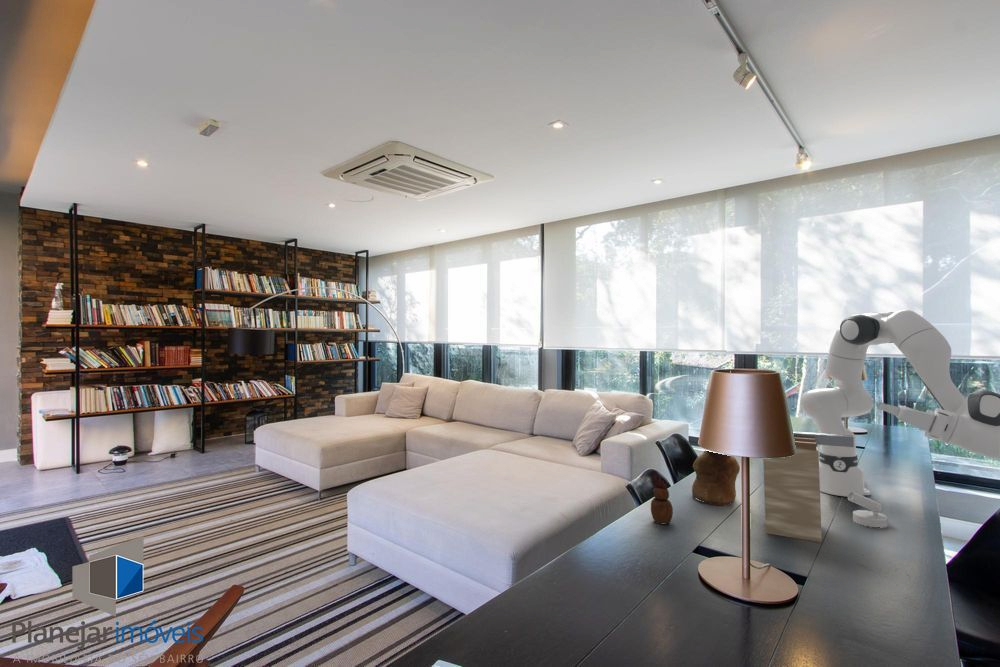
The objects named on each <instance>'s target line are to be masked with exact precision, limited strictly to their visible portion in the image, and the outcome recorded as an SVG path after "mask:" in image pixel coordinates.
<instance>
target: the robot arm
mask: <svg viewBox="0 0 1000 667" xmlns="http://www.w3.org/2000/svg"><path fill="white" fill-rule="evenodd" d="M892 343H893V344H894V345H895V346H896V348H897V349H898V350H899V351H900V352H901V353H902V354H903V355H904V357H905V358H906V359H907V361H908V362H909V363H910V365H911V366H912V368H913V369H914V370H915V372H916V374H917V375H918V378H919V379H920V381H921V382H922V384H923V385H924V386H925V388H926V389H927V391H928V392H929V394H930V395H931V396H932V397H933V399H934V400H935V402H936V403H937V405H938V406H939V407H940V408H939V407H936V408H935V409H934V410H931V409H926V411H922V410H918V409H914V408H911V407H908V406H904V405H902V404H901V405H900V404H899V405H898V406H896V405H893V404H888V403H885V402H879V403H878V406H877V407H878V409H879V410H881V411H883V412H886V413H888V414H891V415H893V416H895V417H896V418H897V419H898V421H901V422H903V423H905V424H908V425H910V426H913V427H915V428H917V429H918V430H919V431H923V432H924V437H926V438H929V439H932V440H935V441H939V442H941V443H943V444H947V445H953V446H956V447H959V448H961V449H963V450H965V451H967V452H970V453H974V454H977V455H979V456H984V457H987V458H991V459H996V460H1000V394H999V393H997V392H995V391H992V390H991V391H990V390H976V391H973V392H971V393H970V394H969V395H967V397H964V395H963V394H962V392H960V390H959V389H958V387H957V386H956V384H954V382H953V380H952V378H951V373H950V372H951V370H950V368H951V367H950V365H951V358H952V347H951V345H950V344H949V342H948V340H947V338H946V337H945V336H944V335H943V334H942V333H941V332H940V331H939V329H937V328H936V327H935V326H934V325H933V324H932V323H931V322H929V321H928V320H927V319H925V318H924V317H923V316H921V315H920V314H918V313H917V312H915V311H913V310H910V309H901V310H898V311H895V312H894V311H893V312H892V311H890V312H881V311H880V312H878V311H877V312H876V311H875V312H869V313H858V314H857V313H856V314H853V315H850V316H847V317H845V318H844V319H843V320H842V321H841V323H840V326H839V327H838V328H837V330H836V332H835V334H834V336H833V338H832V341H831V343H830V347H829V350H828V354H827V355H828V356H827V361H826V364H825V372H826V374H827V375H828V376H829V378H831V379H832V380H834V386H833V387H832V388H831V387H830V388H815V389H812V390H808V391H805V392H804V393H802V395H801V397H800V399H799V401H800V408H801V410H802V411H803V412H804V414H806V415H807V416H808V417H810V418H811V419H812V421H813V423H814V424H815V426H816V428H817V431H818V433H825V434H840V435H852V436H853V438H854V447H843V446H830V445H819V446H820V451H819V478H820V493H821V492H822V493H824V494H828V495H834V496H840V497H847V498H848V495H849V493H850V492H855V493H857V494H859V495H862V496H871V493H872V492H871V491H870V490H868V489H867V488H866V487H865V478H864V477H865V476H864V471H863V470H862V469H860V468H859V459H858V458H859V457H858V455H857V447H856V446H857V444H856V436H855V433H854V432H853V431H852V430H851V429H850V428H849V429H848V428H846V427H845V424H844V423H843V419H842V418H851V417H853V418H854V417H858V416H863V415H866V414H869V413H871V411H872V410H873V406H874V399H873V396H872V395H871V394H870V393H869V392H868V391H867V390H866V389H865V387H864V385H863V376H862V375H863V370H864V365H865V361H866V356H867V351H868V348H869V346H876V345H877V346H878V345H881V344H882V345H883V344H892Z"/></svg>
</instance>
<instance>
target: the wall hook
mask: <svg viewBox="0 0 1000 667" xmlns="http://www.w3.org/2000/svg"><path fill="white" fill-rule="evenodd" d="M847 500H848V501H849V502H852V503H855V504H856V505H859V506H861V507H863V508H866V509H867V510H865V509H857V510H853V511H852V520H853V522H854V523H855V522H856V524H857V523H858V524H857V525H860V524H861V525H860V526H863V525H864V526H863V527H867V526H869V527H868V528H872V527H880V528H879V529H884V528H883V527H886V528H888V527H887V526H889V522H888V521H889V520H888V519H889V518H888V516H887V515H886V514H884V513H881V512H882V510H883V506H882V504H881V503H879V502H878V501H876V500H873V499H871V498H868V497H866V496H865V495H863V496H862V495H859V494H857V493H855V492H850V493H849V495H848V497H847Z"/></svg>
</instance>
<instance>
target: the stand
mask: <svg viewBox="0 0 1000 667" xmlns="http://www.w3.org/2000/svg"><path fill="white" fill-rule="evenodd" d="M794 439H795V445H796V450H797V453H796V454H795V455H794V456H791V457H785V458H771V459H763V458H762V460H763V462H762V463H763V464H762V465H763V491H764V494H763V495H764V517H765V518H764V520H765V534H770V535H776V536H781V537H782V536H783V537H788V538H789V537H790V538H793V539H794V538H795V539H800V540H806V541H812V542H818V543H822V542H823V539H822V538H823V537H822V536H823V535H822V512H821V511H822V510H821V491H820V478H819V464H820V461H819V452H820V451H819V446H818V445H817V444H816V443H815V439H813V438H799V437H794Z"/></svg>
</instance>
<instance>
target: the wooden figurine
mask: <svg viewBox="0 0 1000 667" xmlns="http://www.w3.org/2000/svg"><path fill="white" fill-rule="evenodd" d="M661 479H662V478H661V476H658V478H657V475H656V474H654V488H653V498H652V500H651V502H650V512H651V516H652V519H653V520H654V522H656V523H657V522H659V523H668V524H669V523H671V521H672V518H673V514H674V509H673V505H672V502H671V501H670V500H669V498H670V491H669V489H668V487H667V483H666V482H665V483H664V480H661ZM659 523H658V524H659Z"/></svg>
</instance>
